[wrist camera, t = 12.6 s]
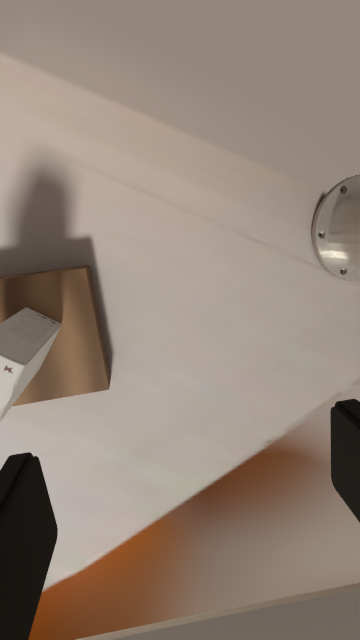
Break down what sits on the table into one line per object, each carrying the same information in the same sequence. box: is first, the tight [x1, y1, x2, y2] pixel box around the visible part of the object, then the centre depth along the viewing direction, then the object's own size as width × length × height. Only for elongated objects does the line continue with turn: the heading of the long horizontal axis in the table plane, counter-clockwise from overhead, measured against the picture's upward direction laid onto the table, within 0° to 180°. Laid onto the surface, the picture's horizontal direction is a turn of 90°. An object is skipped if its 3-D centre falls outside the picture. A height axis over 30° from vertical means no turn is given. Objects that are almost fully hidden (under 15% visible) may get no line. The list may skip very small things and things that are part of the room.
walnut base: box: [0, 265, 111, 406], centre depth 39 cm, size 14×14×4 cm
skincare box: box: [0, 308, 61, 421], centre depth 31 cm, size 6×4×12 cm
